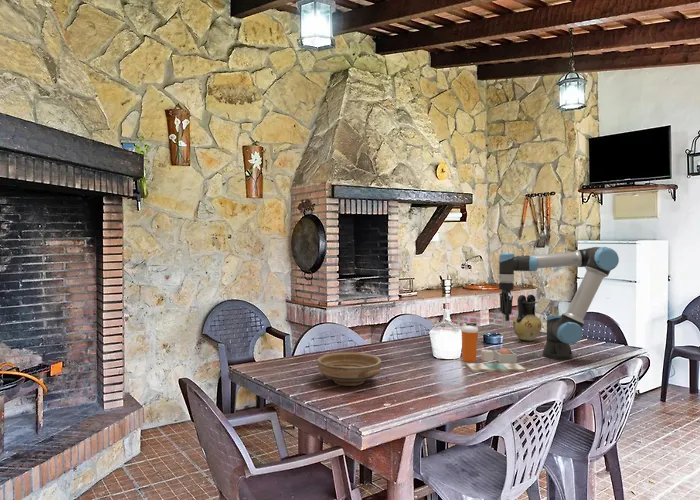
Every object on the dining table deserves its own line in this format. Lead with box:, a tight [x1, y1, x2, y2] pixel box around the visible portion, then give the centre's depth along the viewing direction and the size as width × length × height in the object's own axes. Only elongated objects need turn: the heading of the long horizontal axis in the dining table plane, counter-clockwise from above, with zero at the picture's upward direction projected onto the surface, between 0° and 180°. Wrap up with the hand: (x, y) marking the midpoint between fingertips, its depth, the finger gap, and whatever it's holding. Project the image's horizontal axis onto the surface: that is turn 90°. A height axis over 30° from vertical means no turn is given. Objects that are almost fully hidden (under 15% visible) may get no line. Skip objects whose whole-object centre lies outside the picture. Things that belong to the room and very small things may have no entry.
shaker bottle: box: [460, 321, 479, 363], centre depth 265 cm, size 9×9×20 cm
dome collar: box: [493, 350, 518, 364], centre depth 265 cm, size 9×9×4 cm
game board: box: [464, 362, 528, 373], centre depth 249 cm, size 27×12×1 cm, turn 93°
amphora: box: [512, 294, 542, 344], centre depth 315 cm, size 18×17×30 cm
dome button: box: [498, 347, 512, 354], centre depth 265 cm, size 6×6×6 cm
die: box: [480, 349, 494, 362], centre depth 267 cm, size 5×5×5 cm
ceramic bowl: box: [316, 352, 382, 387], centre depth 223 cm, size 37×29×10 cm
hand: (505, 326), depth 265 cm, fingers open, 2 cm apart
